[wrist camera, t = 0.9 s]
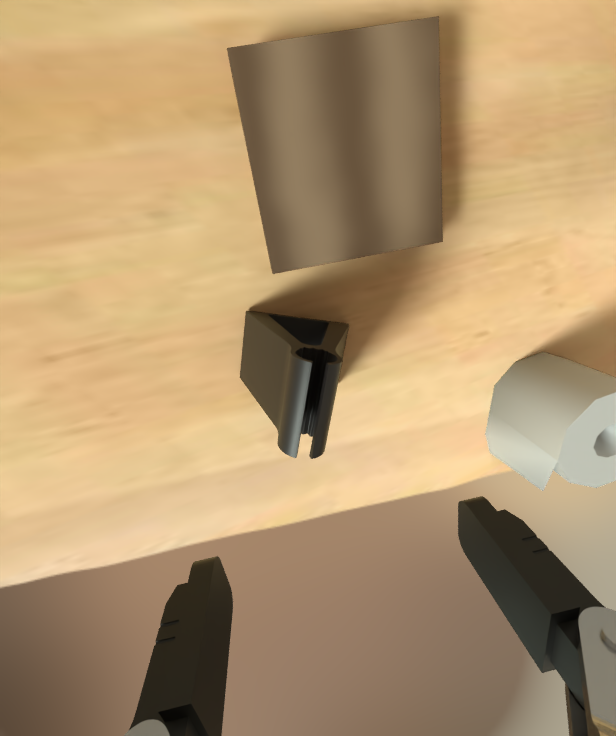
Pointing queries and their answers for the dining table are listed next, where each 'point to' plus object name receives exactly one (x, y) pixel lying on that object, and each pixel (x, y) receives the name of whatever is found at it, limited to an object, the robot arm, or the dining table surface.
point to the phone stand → (294, 374)
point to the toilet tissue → (555, 421)
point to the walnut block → (344, 141)
